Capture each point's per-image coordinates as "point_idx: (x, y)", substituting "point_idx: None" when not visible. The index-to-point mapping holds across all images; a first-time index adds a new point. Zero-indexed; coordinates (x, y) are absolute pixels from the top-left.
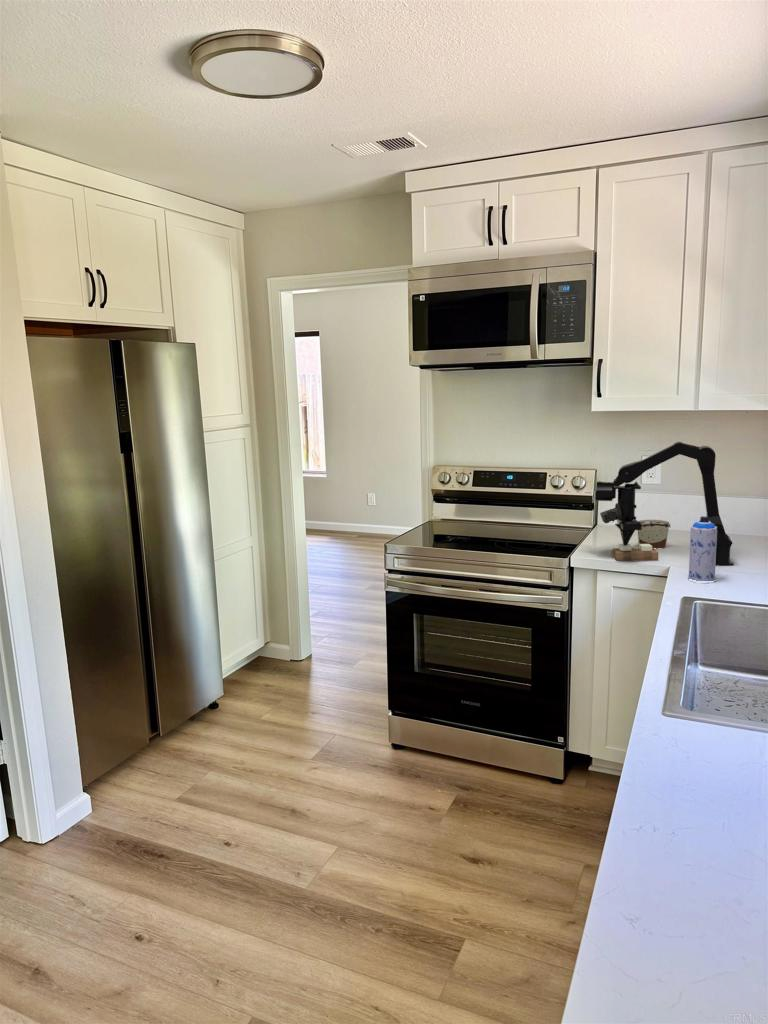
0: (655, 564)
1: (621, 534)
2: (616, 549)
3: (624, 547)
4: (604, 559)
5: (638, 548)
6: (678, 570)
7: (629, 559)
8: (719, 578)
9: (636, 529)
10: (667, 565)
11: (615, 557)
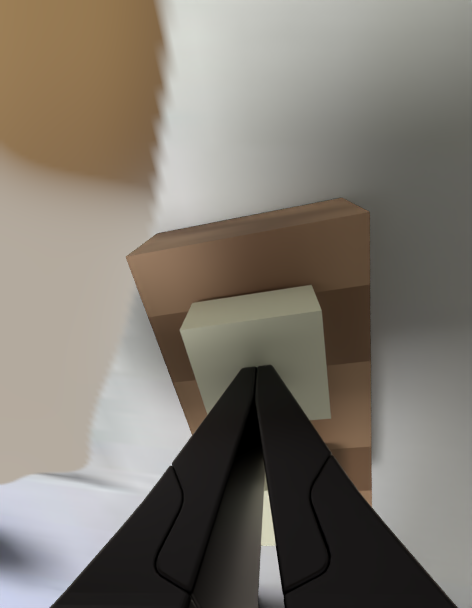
0: (140, 445)
1: (284, 481)
2: (295, 259)
3: (195, 357)
4: (204, 108)
5: (344, 443)
6: (58, 502)
7: None
8: (5, 570)
9: None
10: (137, 484)
11: (205, 228)
